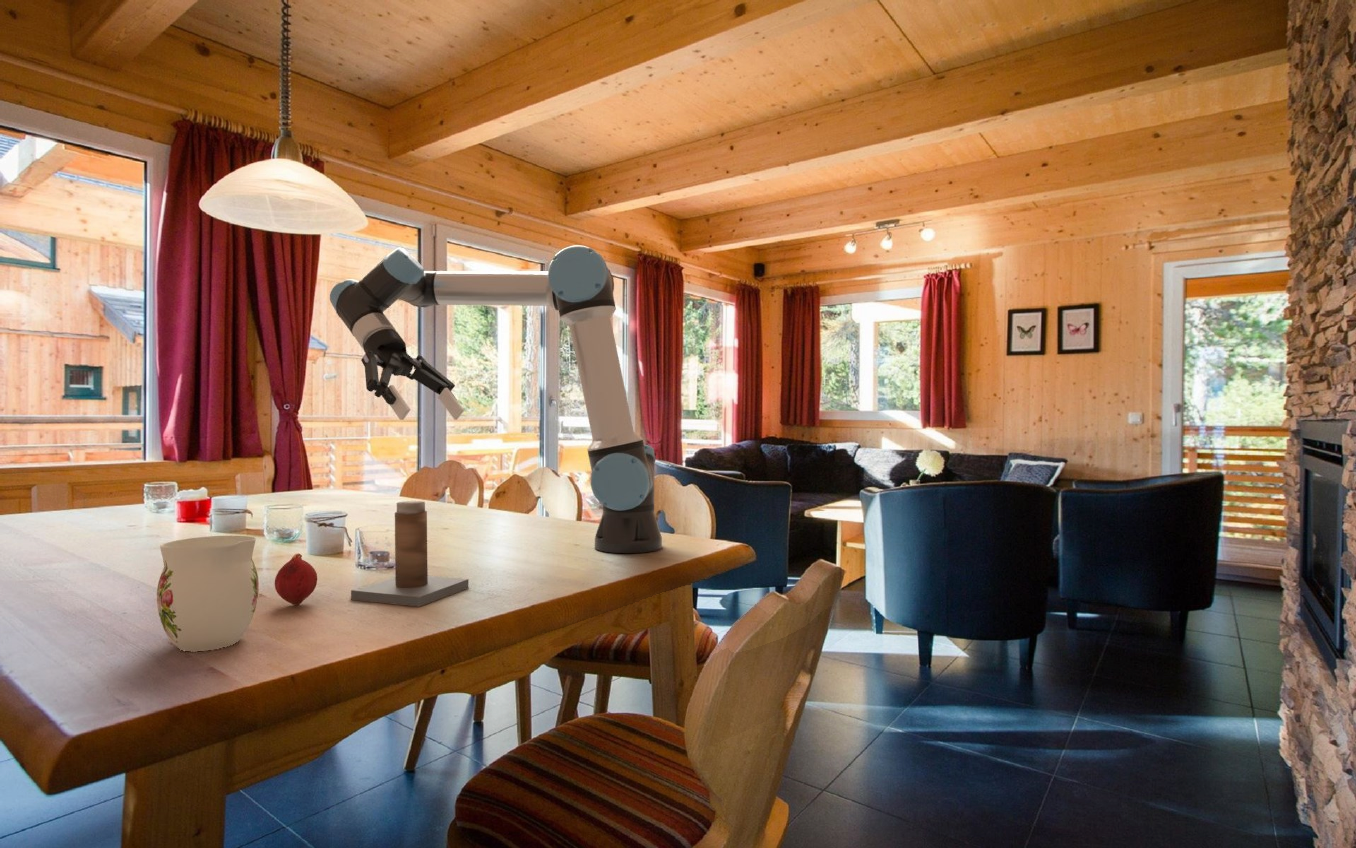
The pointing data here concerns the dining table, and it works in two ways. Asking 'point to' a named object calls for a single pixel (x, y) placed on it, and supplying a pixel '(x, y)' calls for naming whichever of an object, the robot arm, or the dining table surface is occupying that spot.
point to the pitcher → (207, 591)
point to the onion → (296, 580)
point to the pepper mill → (411, 544)
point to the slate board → (409, 591)
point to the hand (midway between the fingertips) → (433, 415)
